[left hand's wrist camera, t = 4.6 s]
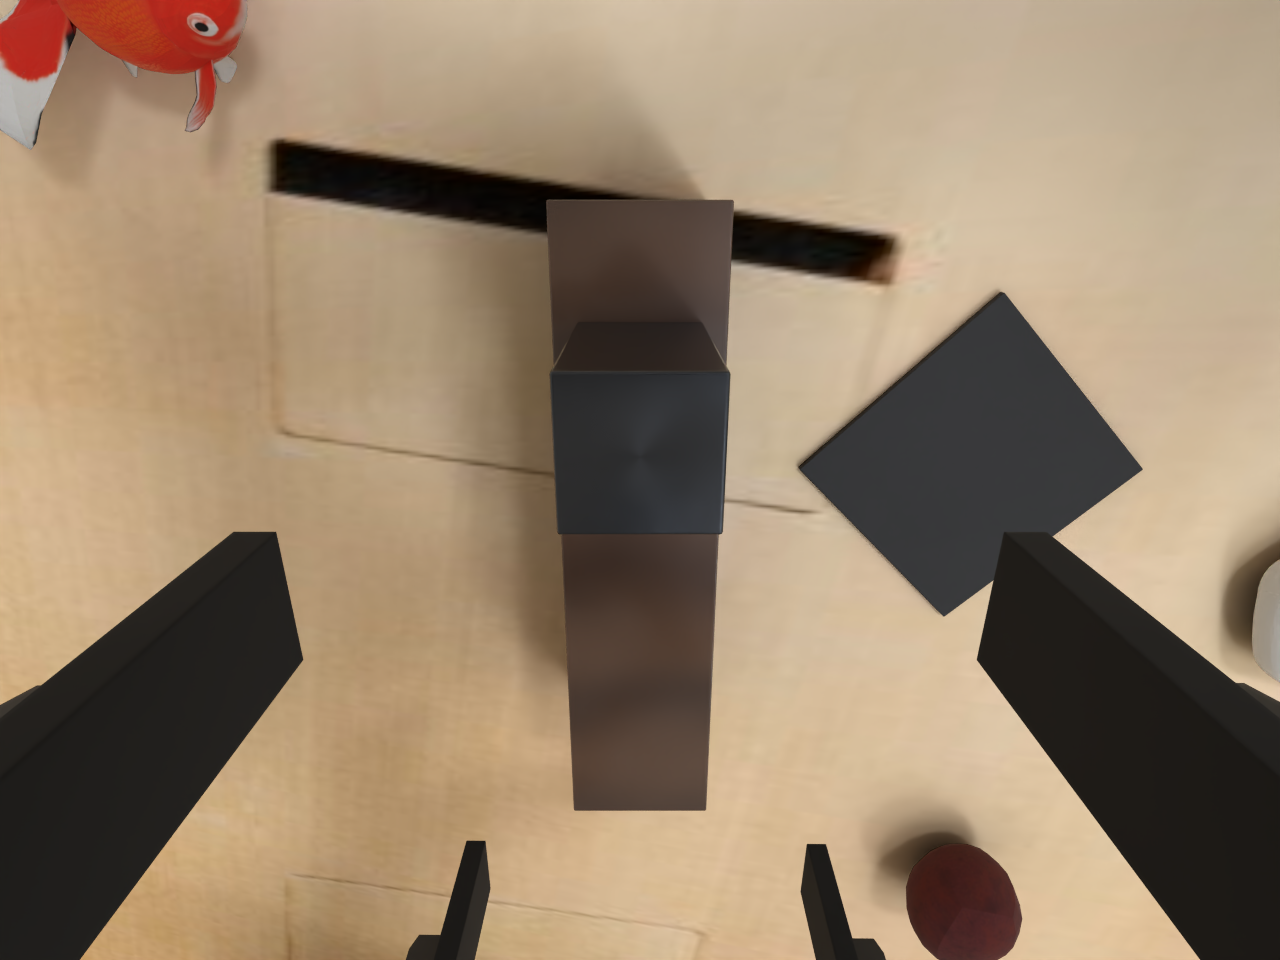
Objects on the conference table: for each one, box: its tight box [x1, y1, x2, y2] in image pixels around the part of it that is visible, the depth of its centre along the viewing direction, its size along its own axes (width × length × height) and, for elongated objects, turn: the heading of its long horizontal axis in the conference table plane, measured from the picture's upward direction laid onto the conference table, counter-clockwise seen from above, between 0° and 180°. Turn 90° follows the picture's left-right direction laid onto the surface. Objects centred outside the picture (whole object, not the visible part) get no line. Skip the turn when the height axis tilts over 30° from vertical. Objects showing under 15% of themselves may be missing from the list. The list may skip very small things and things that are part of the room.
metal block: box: [550, 322, 730, 534], centre depth 24 cm, size 5×5×9 cm
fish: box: [0, 0, 248, 150], centre depth 29 cm, size 11×16×10 cm
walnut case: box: [546, 200, 734, 811], centre depth 36 cm, size 30×7×10 cm, turn 0°
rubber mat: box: [799, 292, 1143, 616], centre depth 40 cm, size 14×14×1 cm
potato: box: [906, 844, 1022, 960], centre depth 48 cm, size 7×8×7 cm
